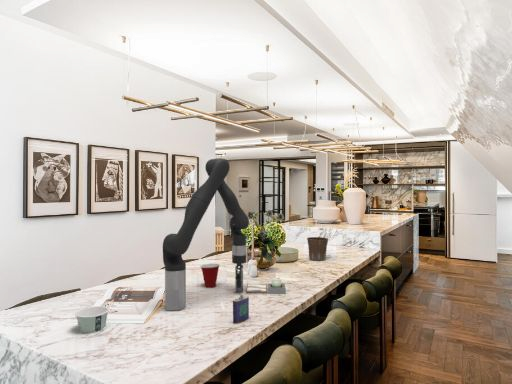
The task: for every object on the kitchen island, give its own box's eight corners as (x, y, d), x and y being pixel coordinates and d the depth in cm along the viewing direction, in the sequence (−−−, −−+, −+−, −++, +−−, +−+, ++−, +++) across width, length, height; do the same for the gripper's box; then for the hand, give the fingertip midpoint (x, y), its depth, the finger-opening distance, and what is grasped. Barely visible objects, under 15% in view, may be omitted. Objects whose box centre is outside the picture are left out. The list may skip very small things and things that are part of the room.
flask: (245, 316, 153) (245, 291, 152) (251, 317, 151) (251, 292, 151) (231, 322, 145) (231, 296, 145) (237, 324, 143) (237, 297, 143)
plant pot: (331, 258, 278) (331, 237, 278) (323, 262, 264) (323, 240, 264) (311, 256, 287) (312, 236, 286) (303, 260, 273) (303, 238, 273)
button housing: (285, 294, 185) (285, 288, 185) (267, 293, 185) (267, 288, 185) (284, 289, 194) (284, 283, 194) (267, 288, 194) (267, 283, 194)
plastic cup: (207, 282, 207) (207, 261, 207) (223, 285, 202) (223, 263, 202) (196, 287, 197) (196, 265, 197) (212, 289, 192) (212, 267, 192)
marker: (242, 292, 187) (242, 271, 187) (235, 292, 187) (235, 271, 187) (243, 290, 191) (243, 269, 191) (235, 290, 191) (235, 269, 191)
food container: (70, 327, 140) (70, 311, 140) (101, 320, 148) (101, 304, 148) (81, 337, 131) (81, 319, 131) (114, 328, 140) (114, 311, 140)
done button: (281, 289, 187) (281, 282, 187) (271, 289, 187) (271, 282, 187) (281, 287, 192) (281, 279, 192) (271, 287, 192) (271, 279, 192)
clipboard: (267, 293, 186) (267, 290, 186) (245, 293, 186) (245, 290, 186) (267, 285, 202) (267, 282, 202) (247, 285, 202) (247, 282, 202)
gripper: (245, 256, 182) (245, 290, 182) (247, 251, 196) (247, 283, 196) (230, 256, 182) (230, 290, 182) (233, 251, 196) (233, 282, 196)
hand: (239, 286), depth 189 cm, fingers closed on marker, 4 cm apart
